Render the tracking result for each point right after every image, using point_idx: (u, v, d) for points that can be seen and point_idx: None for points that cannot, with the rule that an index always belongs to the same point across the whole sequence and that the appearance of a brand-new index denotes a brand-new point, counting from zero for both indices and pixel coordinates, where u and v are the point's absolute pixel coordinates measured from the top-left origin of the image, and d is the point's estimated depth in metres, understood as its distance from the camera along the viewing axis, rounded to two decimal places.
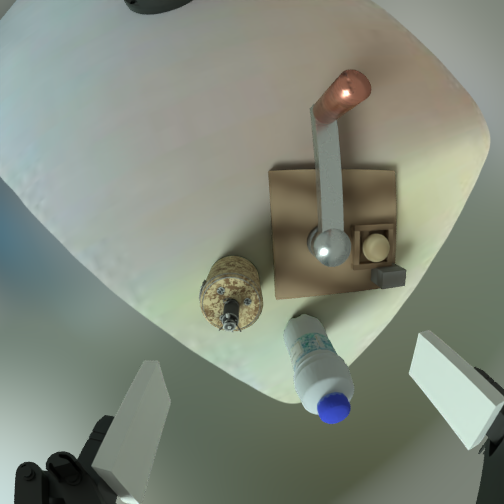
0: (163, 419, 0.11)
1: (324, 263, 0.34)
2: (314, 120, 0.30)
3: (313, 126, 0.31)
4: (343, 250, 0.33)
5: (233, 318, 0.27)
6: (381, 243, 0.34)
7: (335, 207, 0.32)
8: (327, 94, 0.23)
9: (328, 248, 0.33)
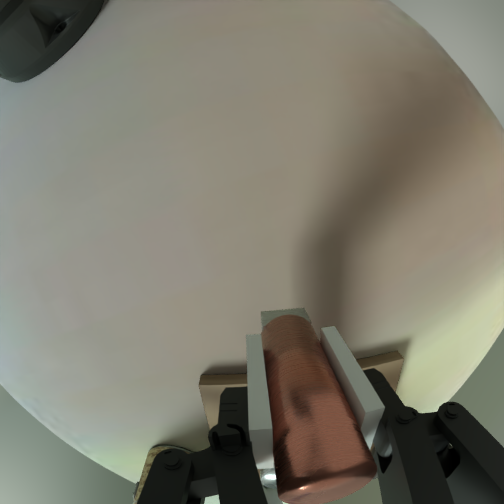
0: None
1: (273, 487, 0.20)
2: None
3: None
4: None
5: None
6: None
7: None
8: None
9: None
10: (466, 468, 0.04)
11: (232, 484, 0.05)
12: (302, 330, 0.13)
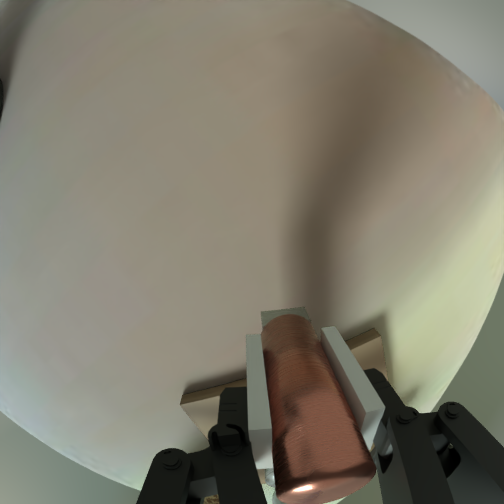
0: None
1: None
2: None
3: None
4: None
5: None
6: None
7: None
8: None
9: None
10: (466, 468, 0.04)
11: (232, 484, 0.05)
12: (301, 329, 0.13)
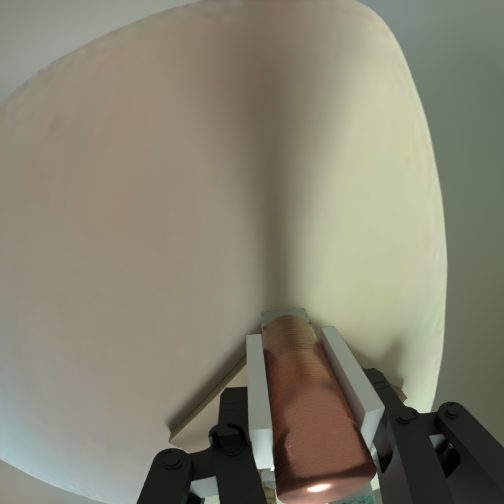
0: None
1: (274, 487, 0.19)
2: None
3: None
4: None
5: None
6: None
7: None
8: None
9: None
10: (466, 468, 0.04)
11: (232, 484, 0.05)
12: (302, 330, 0.13)
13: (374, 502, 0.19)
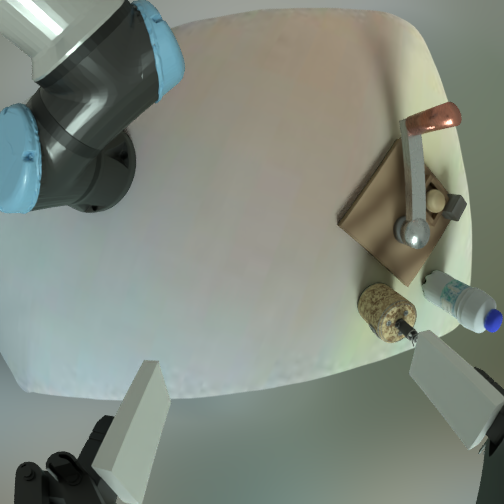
0: (163, 419, 0.11)
1: (412, 246, 0.37)
2: (406, 131, 0.34)
3: (404, 136, 0.35)
4: (425, 235, 0.37)
5: (413, 332, 0.33)
6: (437, 198, 0.37)
7: (421, 201, 0.36)
8: (428, 116, 0.27)
9: (415, 234, 0.37)
10: None
11: None
12: None
13: None
